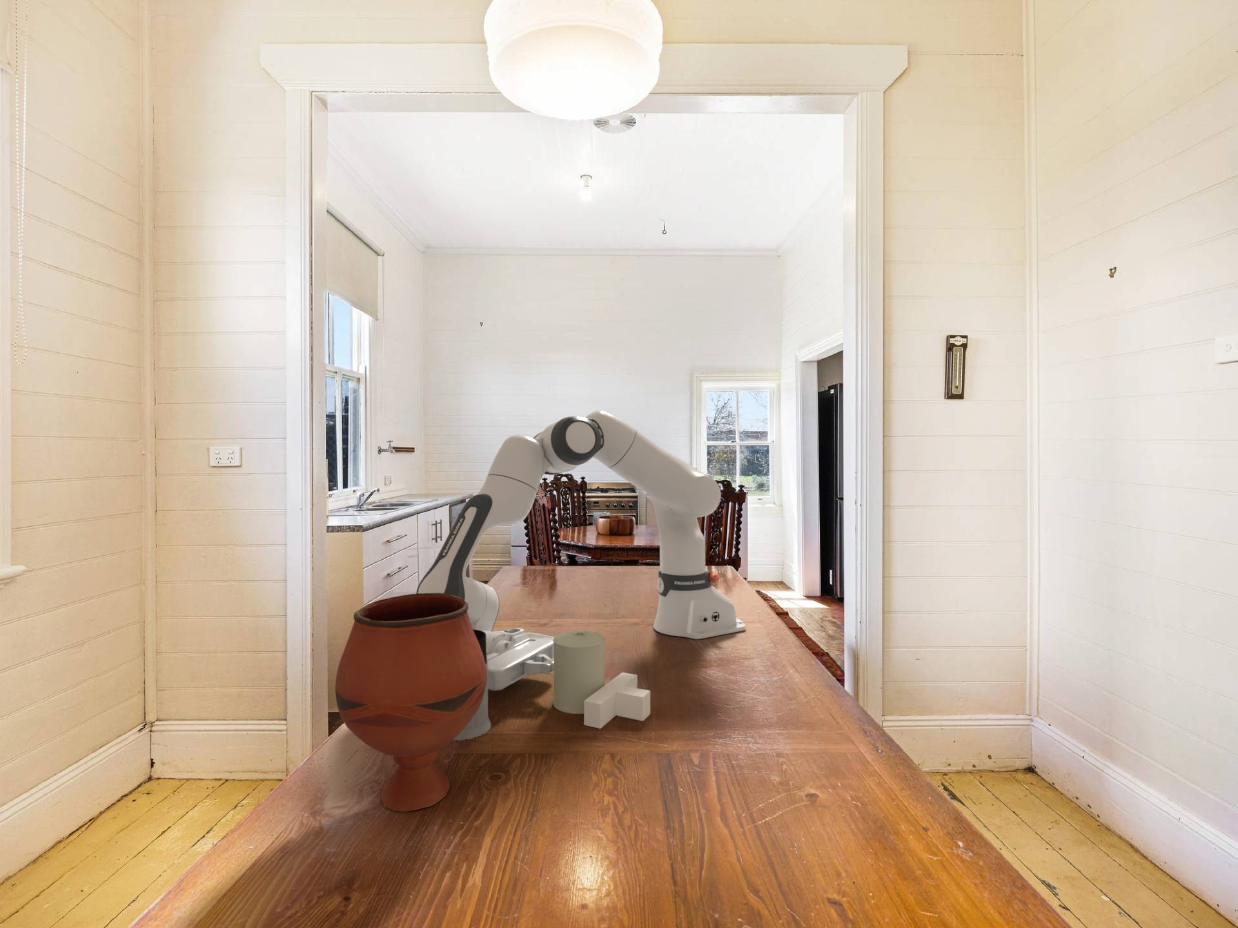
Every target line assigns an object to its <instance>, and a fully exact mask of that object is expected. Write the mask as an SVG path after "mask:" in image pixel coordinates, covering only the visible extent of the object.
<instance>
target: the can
mask: <svg viewBox="0 0 1238 928" xmlns="http://www.w3.org/2000/svg"><path fill="white" fill-rule="evenodd" d="M553 637H554V639H553V645H554V671H553V680H554V681H553V700H552V701H553V702H552V705H553V707H554V708H555V709H556V710H558V711H559V712H562V713H565V714H570V715H573V714H574V715H583V714H584V700H586V699H587V698H588V697H590V696H591V695H593V694H594V693H595V692H597V691H598V690H599V689H601V688H602V687H603V686H605V640H606V639H605V636H604V635H603V634H601V633H598V632H595V631H590V630H588V631H587V630H573V631H566V632H562V633H559V634H557V635H555V636H553Z"/></svg>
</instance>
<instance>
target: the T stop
mask: <svg viewBox="0 0 1238 928" xmlns="http://www.w3.org/2000/svg"><path fill="white" fill-rule="evenodd" d="M650 715H651V690H648V689H643V688H638V675H637V674H635V673H634V674H633V673H628V672H623V671H622V672H620V673H619V674H618V675H616V676H615V677H613V678H612V679H611V680H610V681H609V682H607V683H606V684H604V686H603V687H602V688H601V689H599V690H598V691H597V692H595V693H594V694H593V695H591V696H590V697H588V698H587V699H586V700H584V715H583V716H584V717H583V720H584V721H583V726H588V727H592V728H597V729H602V728H603V727H604V726H605V725H607V724H608V723H609V722H610V721H612V719H613V718H614V717H616V716H618V717H622V718H627V719H631V720H637V721H642V722H644V721H645V720H646V719H647V718H648V717H649V716H650Z"/></svg>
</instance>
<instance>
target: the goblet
mask: <svg viewBox="0 0 1238 928" xmlns="http://www.w3.org/2000/svg"><path fill="white" fill-rule="evenodd" d="M467 610H468V603H467V602H465V601H464V600H463V599H462V598H459V597H457V596H453V595H449V594H444V593H418V594H416V593H410V594H409V593H408V594H403V595H399V596H398V595H397V596H391V597H387V598H383V599H379V600H376V601H373V602H369V604H366V605H365V606H363V607H361V608H360V609H358V610H357V611H355V612H354V614H353V620H354V621H353V624H352V627H351V630H350V633H349V636H348V638H347V641H346V645H345V647H344V649H343V652H342V655H341V657H340V660H339V664H338V667H337V672H336V677H335V683H334V692H335V700H336V706H337V710H338V713H339V715H340V717H341V720H342V722H343V723H344V725H345V726H346V728H347V729H348V730H349V731H351V733H352V734H354V736H356V737H357V738H358V739H359V740H360V741H362V742H363V743H364V744H366V745H367V746H369V747H370V748H372V749H373V750H376V751H378V752H380V753H382V754H385V755H388V756H392V757H393V758H392V759H393V761H394V763H395V764H396V765H398V766H397V768H396V769H395V772H394V773H393V774H392V775H391V777H390V778H388V780H387V782H386V783H385V784H384V786H383V789H382V792H381V795H380V796H381V801H382V803H383V807H386V808H387V809H389V810H391V811H394V812H402V813H403V812H405V813H406V812H411V811H416V810H422V809H425V808H429V807H433V806H434V805H436V804H437V803H439V802H440V801H442V800H443V799H444V798H445V797H447V794H448V792H449V790H450V785H451V784H450V781H449V779H448V777H447V776H446V774H445V773H444V772H443V771H442V770H441V769H440V767H438V766H437V765H436V764H435V761H436V760H437V759H438V758H439V757H440V755H441V748H443V747H445V746H446V745H447V744H449V743H450V742H451V741H453V739H454V738H455V737H456V736H457V735H458V734H459V733H460V732H461V731H462V730H463V729H464V728H465V727H466V726H467V724H468V723H469V722H470V720H471V719H472V718H473V716H474V715H475V713H476V712H477V710H478V708H479V706H480V704H481V702H482V699H483V696H484V692H485V688H486V682H487V668H486V664H485V660H484V656H483V653H482V650H481V648H480V645H479V642H478V640H477V638H476V636H475V634H474V631H473V628H472V626H471V623H470V619H469V616H468V612H467ZM443 797H444V798H443ZM441 799H442V800H441Z"/></svg>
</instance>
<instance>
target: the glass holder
mask: <svg viewBox="0 0 1238 928" xmlns="http://www.w3.org/2000/svg"><path fill="white" fill-rule="evenodd" d="M473 631H474V634H475V636H476V638H477V640H478V642H479V645H480V648H481V650H482V653H483V656H484V660H485V664H486V668H487V682H486V688H485V692H484V696H483V699H482V702H481V704H480V706H479V708H478V710H477V712H476V713H475V715H474V716H473V718H472V719H471V720H470V722H469V723H468V724H467V726H466V727H465V728H464V729H463V730H462V731H461V732H460V733H459V734H458V735H457V736H456V737H455V738H454V739H453V740H452V741H454V740H455V741H456V740H458V741H466V740H465V739H468V740H472V739H475V738H474V737H476V738H478V736H479V737H481V736H483V735H484V734H486V733H488V732H489V731H490V729H491V727H492V722H491V720H490V719H489V689H488V664H487V655H486V633H485V632H483V631H480V630H474V629H473ZM488 730H489V731H488ZM482 734H483V735H482Z"/></svg>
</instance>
